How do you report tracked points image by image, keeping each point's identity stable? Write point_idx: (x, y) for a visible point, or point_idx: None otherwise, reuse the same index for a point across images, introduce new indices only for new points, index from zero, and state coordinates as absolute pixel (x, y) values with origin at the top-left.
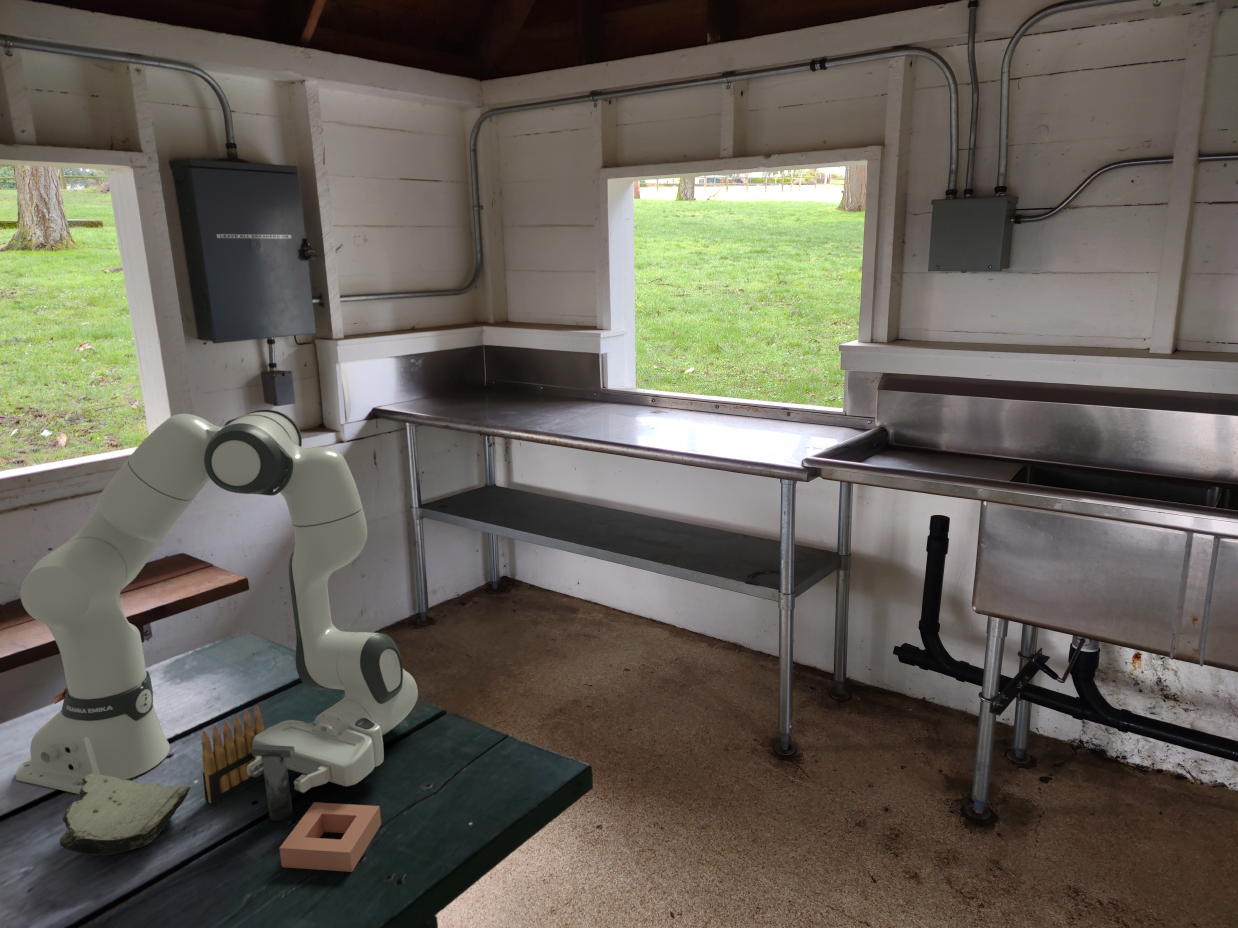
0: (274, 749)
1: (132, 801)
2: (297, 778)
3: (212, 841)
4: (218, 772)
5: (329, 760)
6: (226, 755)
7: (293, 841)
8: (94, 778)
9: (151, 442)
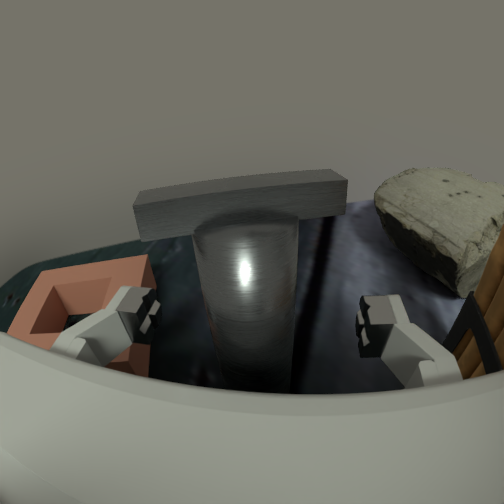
0: (221, 180)
1: (450, 203)
2: (146, 295)
3: (329, 293)
4: (475, 311)
5: (36, 353)
6: None
7: (128, 267)
8: None
9: None
